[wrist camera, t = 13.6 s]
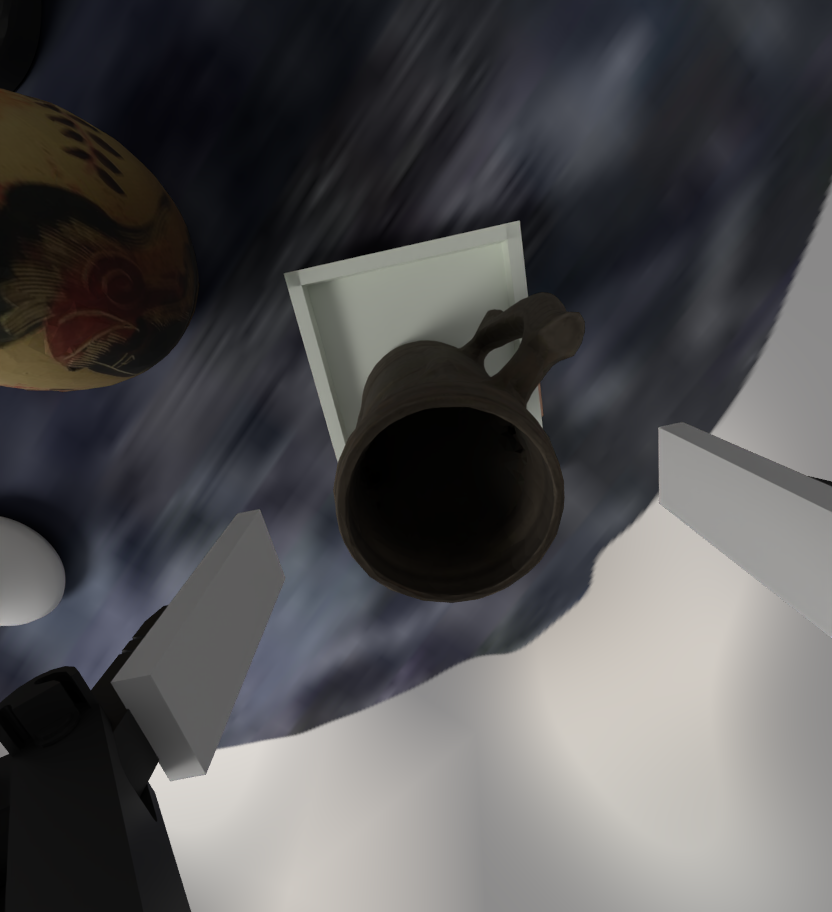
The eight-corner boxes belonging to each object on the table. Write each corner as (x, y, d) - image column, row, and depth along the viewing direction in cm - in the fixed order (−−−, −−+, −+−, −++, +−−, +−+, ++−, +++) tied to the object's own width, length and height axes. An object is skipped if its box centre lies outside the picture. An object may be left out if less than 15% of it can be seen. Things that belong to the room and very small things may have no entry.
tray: (359, 515, 40) (356, 528, 38) (292, 275, 33) (283, 273, 31) (543, 478, 39) (553, 489, 37) (515, 225, 32) (523, 219, 30)
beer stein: (452, 491, 39) (514, 646, 20) (339, 445, 37) (286, 566, 18) (532, 328, 35) (704, 322, 16) (412, 269, 33) (444, 183, 14)
